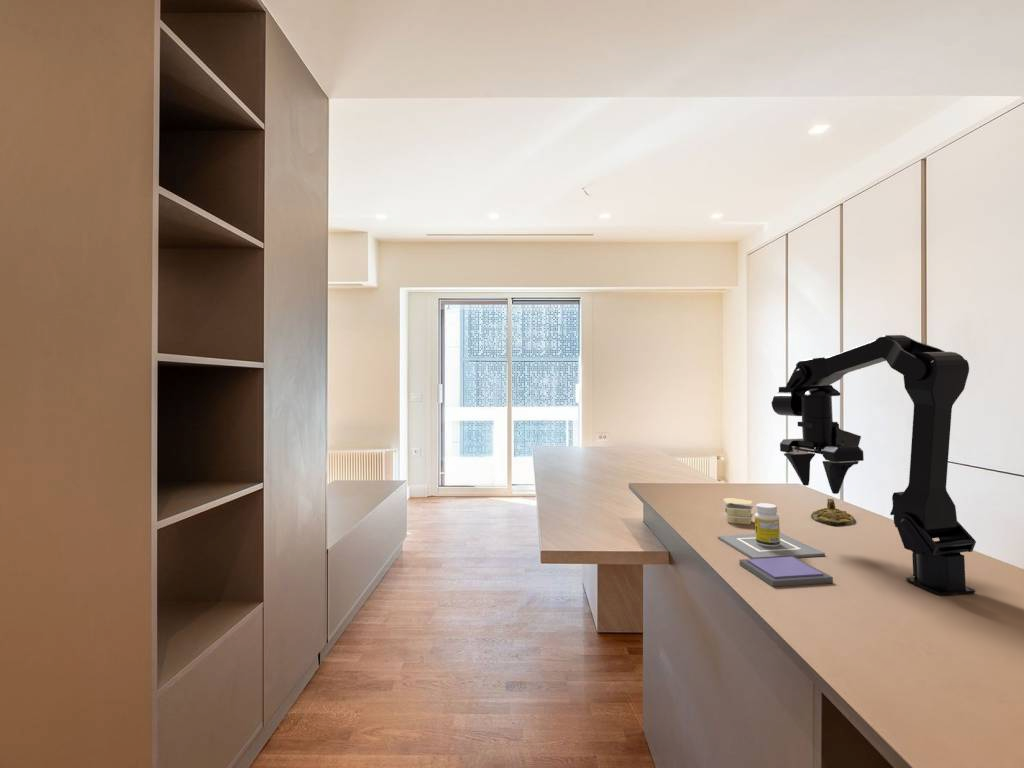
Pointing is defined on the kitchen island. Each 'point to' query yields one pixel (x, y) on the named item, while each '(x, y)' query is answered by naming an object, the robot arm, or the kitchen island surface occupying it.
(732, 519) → the cream tiered block
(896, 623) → the kitchen island surface
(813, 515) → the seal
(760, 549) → the board
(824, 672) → the kitchen island surface
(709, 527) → the kitchen island surface
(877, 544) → the kitchen island surface
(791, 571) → the pad
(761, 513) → the supplement bottle
